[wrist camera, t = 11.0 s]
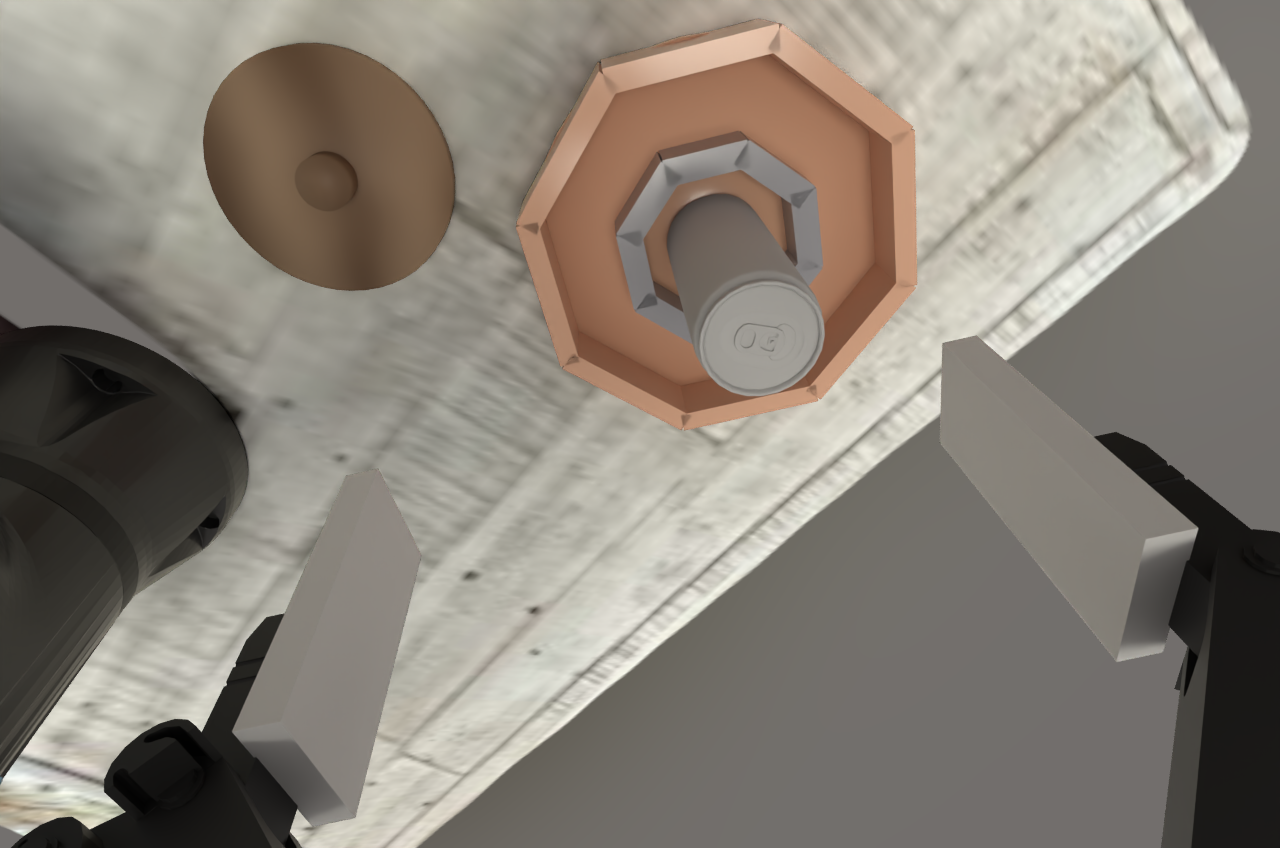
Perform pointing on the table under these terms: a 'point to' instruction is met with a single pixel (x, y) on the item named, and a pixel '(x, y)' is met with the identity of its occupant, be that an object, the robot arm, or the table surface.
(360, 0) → the table surface
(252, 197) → the walnut lid
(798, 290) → the beverage can
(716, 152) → the dish
